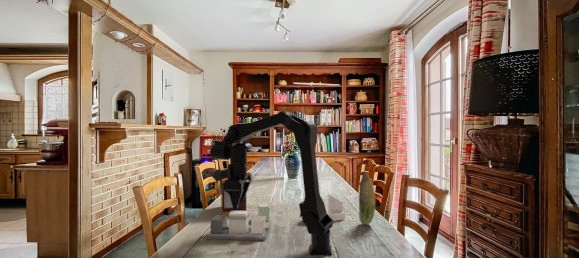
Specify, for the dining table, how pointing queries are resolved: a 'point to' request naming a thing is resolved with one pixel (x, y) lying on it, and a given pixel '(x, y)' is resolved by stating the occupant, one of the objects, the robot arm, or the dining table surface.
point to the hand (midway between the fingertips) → (238, 205)
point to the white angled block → (335, 209)
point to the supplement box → (227, 203)
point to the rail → (254, 233)
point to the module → (238, 222)
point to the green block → (263, 210)
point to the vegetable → (366, 200)
